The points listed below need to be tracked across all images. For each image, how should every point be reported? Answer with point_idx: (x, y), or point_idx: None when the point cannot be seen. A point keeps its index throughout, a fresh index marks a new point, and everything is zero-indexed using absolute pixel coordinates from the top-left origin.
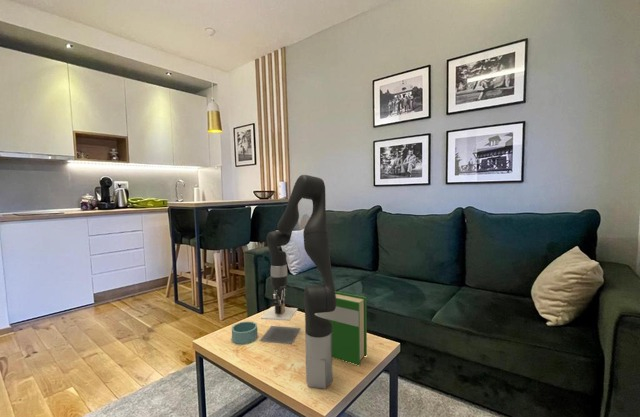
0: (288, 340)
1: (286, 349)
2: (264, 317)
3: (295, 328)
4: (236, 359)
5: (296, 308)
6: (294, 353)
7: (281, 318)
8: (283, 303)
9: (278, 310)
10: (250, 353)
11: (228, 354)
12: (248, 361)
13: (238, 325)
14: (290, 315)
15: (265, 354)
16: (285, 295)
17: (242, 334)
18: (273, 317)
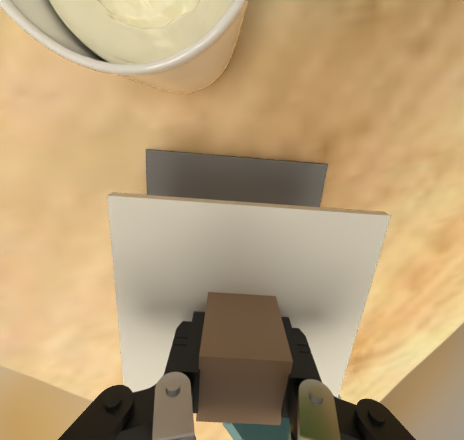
0: (289, 189)
1: (364, 180)
2: (333, 393)
3: (154, 181)
4: (419, 342)
5: (119, 203)
6: (405, 132)
7: (361, 283)
8: (221, 362)
9: (308, 351)
10: (383, 313)
11: (382, 375)
12: (439, 302)
13: (253, 436)
14: (300, 224)
15: (397, 258)
16: (78, 432)
17: (340, 397)
18: (337, 342)
